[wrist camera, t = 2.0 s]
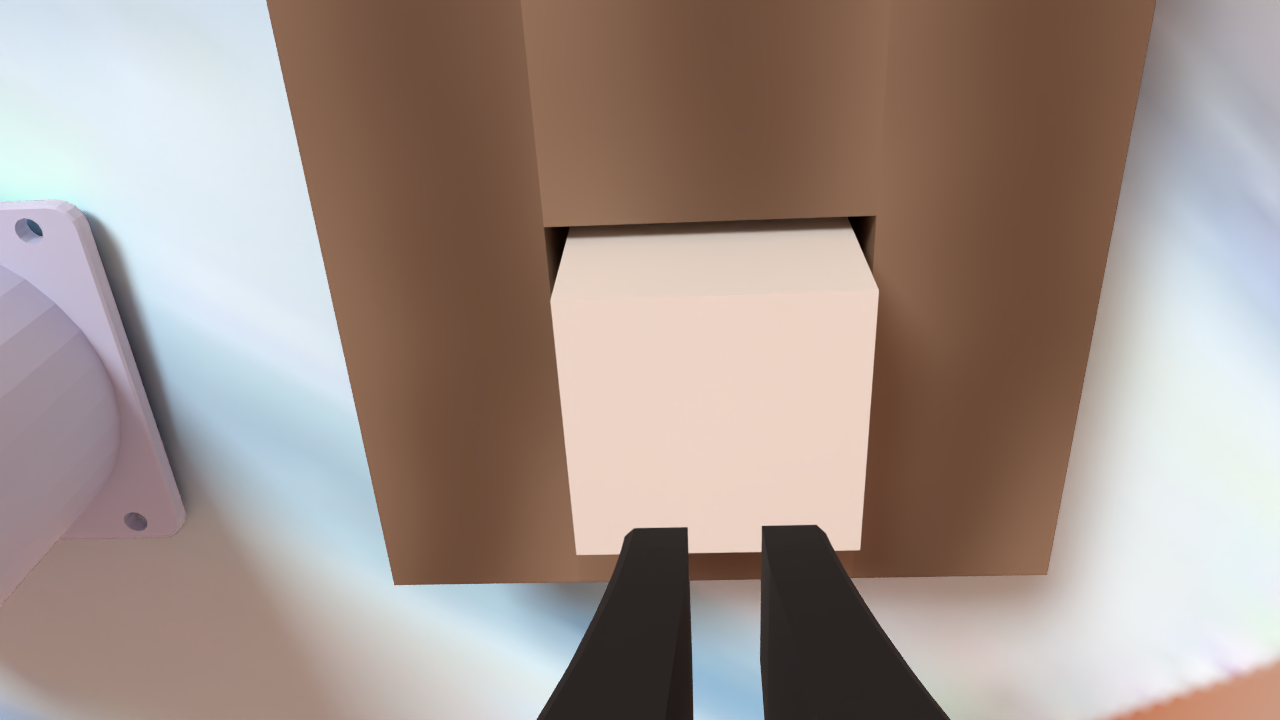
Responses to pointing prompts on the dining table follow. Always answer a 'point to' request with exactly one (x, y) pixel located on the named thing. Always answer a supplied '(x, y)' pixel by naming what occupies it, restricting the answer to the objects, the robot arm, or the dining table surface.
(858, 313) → the pale pink block
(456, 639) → the dining table surface
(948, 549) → the panel
